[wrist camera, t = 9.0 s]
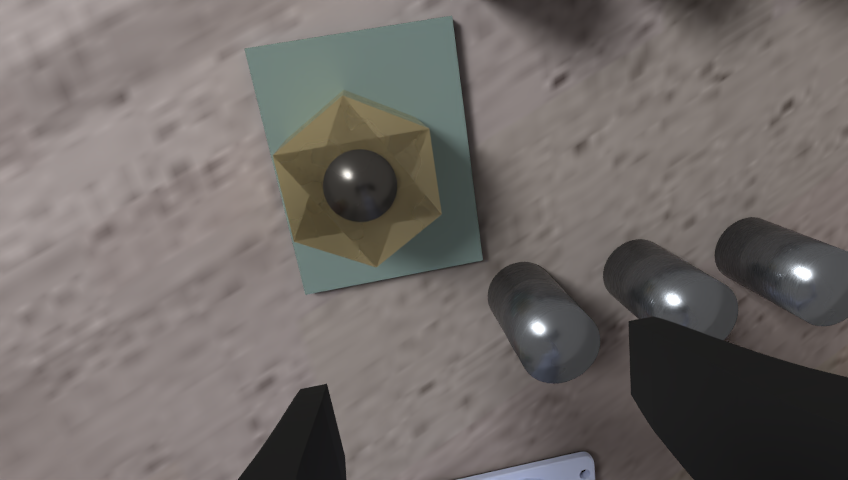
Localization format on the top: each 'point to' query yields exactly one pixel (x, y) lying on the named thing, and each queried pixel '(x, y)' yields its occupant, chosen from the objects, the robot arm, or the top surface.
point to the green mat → (393, 87)
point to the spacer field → (669, 293)
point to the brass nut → (358, 179)
